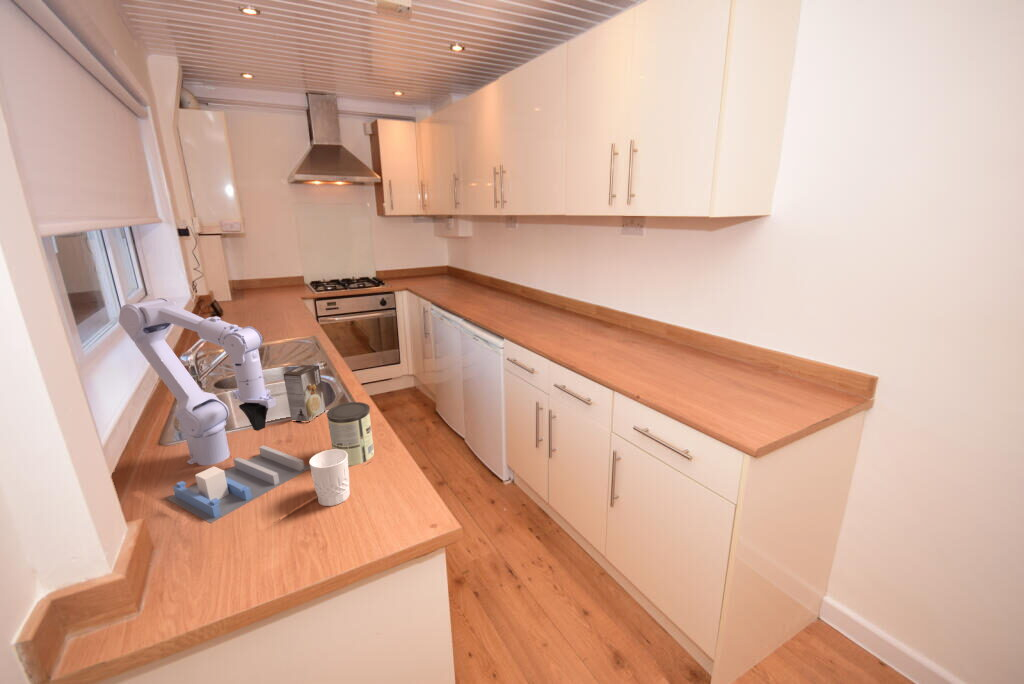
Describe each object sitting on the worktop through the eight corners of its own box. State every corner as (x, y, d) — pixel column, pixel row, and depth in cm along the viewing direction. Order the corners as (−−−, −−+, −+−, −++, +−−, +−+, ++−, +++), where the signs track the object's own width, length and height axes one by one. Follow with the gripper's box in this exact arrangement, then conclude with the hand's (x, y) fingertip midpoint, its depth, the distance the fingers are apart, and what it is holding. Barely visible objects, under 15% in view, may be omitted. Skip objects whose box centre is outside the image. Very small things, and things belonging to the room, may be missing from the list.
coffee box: (309, 410, 148) (302, 364, 144) (326, 411, 147) (320, 365, 142) (290, 421, 139) (282, 373, 135) (308, 423, 138) (301, 374, 134)
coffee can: (334, 453, 120) (327, 405, 116) (374, 446, 123) (369, 399, 119) (332, 473, 110) (325, 421, 107) (375, 465, 114) (369, 414, 110)
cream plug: (200, 498, 99) (195, 474, 98) (219, 489, 103) (214, 466, 101) (210, 503, 97) (205, 479, 96) (229, 494, 101) (224, 470, 99)
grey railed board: (167, 502, 100) (163, 486, 99) (268, 453, 120) (265, 440, 119) (211, 527, 91) (207, 510, 90) (312, 470, 112) (310, 456, 110)
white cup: (343, 483, 106) (338, 445, 103) (358, 497, 101) (353, 457, 98) (309, 497, 101) (303, 458, 98) (323, 513, 95) (317, 471, 93)
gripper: (283, 376, 108) (292, 428, 111) (248, 368, 115) (257, 417, 118) (255, 386, 102) (265, 440, 105) (219, 377, 109) (230, 428, 112)
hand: (259, 428), depth 111 cm, fingers closed
